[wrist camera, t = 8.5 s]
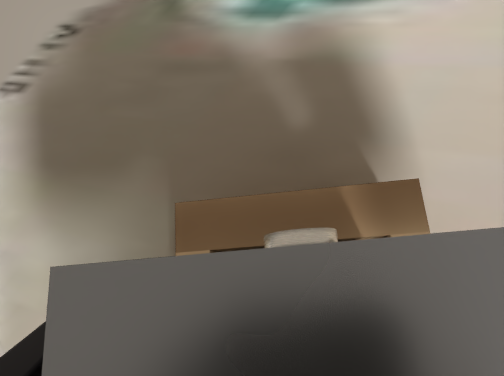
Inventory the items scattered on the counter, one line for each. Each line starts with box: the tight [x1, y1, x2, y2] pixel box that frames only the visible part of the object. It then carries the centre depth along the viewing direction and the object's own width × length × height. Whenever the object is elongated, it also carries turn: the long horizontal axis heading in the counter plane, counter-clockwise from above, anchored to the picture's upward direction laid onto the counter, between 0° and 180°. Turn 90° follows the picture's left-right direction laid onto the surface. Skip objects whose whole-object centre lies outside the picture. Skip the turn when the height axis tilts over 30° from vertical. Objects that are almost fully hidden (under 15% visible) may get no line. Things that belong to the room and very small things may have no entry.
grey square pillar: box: [42, 227, 504, 376], centre depth 9 cm, size 4×5×13 cm
